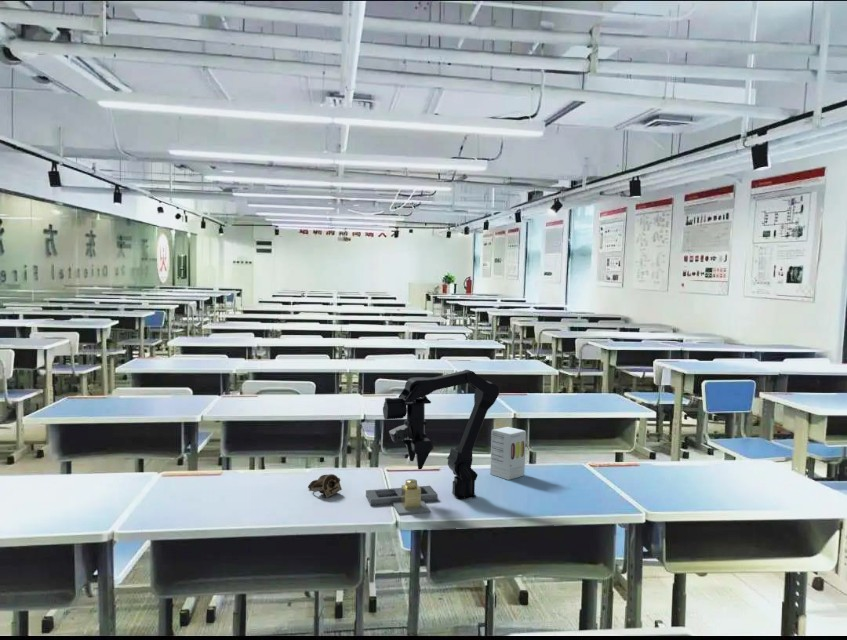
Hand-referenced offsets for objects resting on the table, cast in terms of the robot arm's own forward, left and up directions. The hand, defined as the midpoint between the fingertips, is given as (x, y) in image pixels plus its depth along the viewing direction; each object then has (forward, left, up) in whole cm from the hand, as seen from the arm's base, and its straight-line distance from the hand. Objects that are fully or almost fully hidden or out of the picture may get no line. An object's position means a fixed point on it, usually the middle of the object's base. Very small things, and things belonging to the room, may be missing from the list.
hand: (415, 465), depth 203 cm
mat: (+3, +6, -12) cm, 14 cm away
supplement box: (-40, -19, -12) cm, 46 cm away
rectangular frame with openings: (+4, -3, -12) cm, 13 cm away
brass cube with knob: (+3, +6, -11) cm, 13 cm away
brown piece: (+28, -15, -12) cm, 34 cm away
